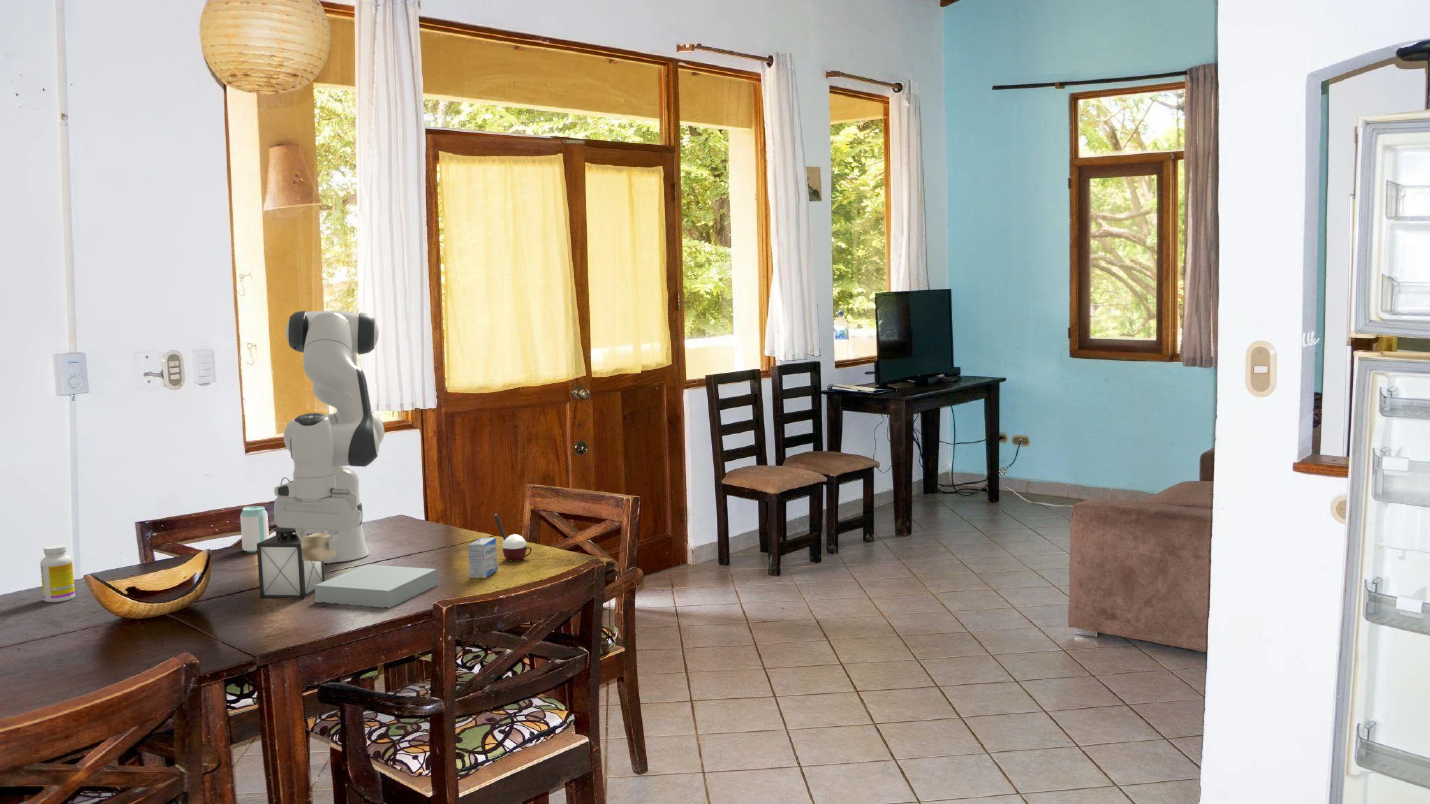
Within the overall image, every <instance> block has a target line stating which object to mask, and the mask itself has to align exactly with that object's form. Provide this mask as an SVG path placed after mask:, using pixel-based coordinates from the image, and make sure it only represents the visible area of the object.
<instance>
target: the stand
mask: <svg viewBox="0 0 1430 804" xmlns="http://www.w3.org/2000/svg"><path fill="white" fill-rule="evenodd" d="M437 574H438V571H437V568H426V567H423V568H422V567H411V566H410V567H409V566H396V565H395V566H393V565H391V566H390V565H381V564H380V565H378V564H364V565H362V566H359V567H357V568H354V569H351V570H349V571H347V572H344V573H342V574H339V575H337V576H335V577H332V578H330V579H328V580H325V581H324V582H322V583H319V584H317V585H315V593H314V594H315V603H321V602H329V603H328V604H334V603H338V604H337V605H346V604H354V605H353V606H359V605H362V606H361V607H371V606H372V607H374V608H384V607H388V609H390V608H392V607H393V608H394V607H395V606H397V605H399V604H401V603H403V602H405V601H407V600H409V599H412V598H414V597H415V596H418V595H420V594H422V593H425V592H427V591H428V590H431V589H432V588H435V587H436V586H438V575H437ZM434 586H435V587H434ZM430 588H431V589H430ZM396 604H397V605H396ZM372 607H371V608H372Z"/></svg>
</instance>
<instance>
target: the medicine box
mask: <svg viewBox="0 0 1430 804" xmlns="http://www.w3.org/2000/svg"><path fill="white" fill-rule="evenodd" d="M497 546H498V545H497V538H496V537H480V538H478V539H477V540H475V541H474V542H471V543H469V544H468V545H467V547H468V548H467V550H468V551H467V553H468V568H469V578H470V577H471V578H470V579H478V578H477V577H487V578H489V577H490V576H491V575H490V574H492V573H493V572H495V573H496V572H497V571H498V569H499V568H498V567H499V566H498V551H497ZM496 570H497V571H496ZM493 574H494V573H493ZM493 574H492V575H493ZM489 575H490V576H489ZM488 576H489V577H488Z"/></svg>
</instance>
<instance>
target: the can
mask: <svg viewBox="0 0 1430 804" xmlns="http://www.w3.org/2000/svg"><path fill="white" fill-rule="evenodd" d="M239 517H240V530H241V532H240V534H241V547H242V550H243V552H244V551H245V552H246V551H247V552H246V553H257V552H256V551H257V543H260V542H262V541H264V540H266V539H269V538H270V534H269V533H270V531H269V519H268V517H269V516H268V511H267V510H266V509H265V506H263V505H262V506H261V505H260V506H259V505H255V506H253V505H252V506H247V507H243V508H242V511H241V513H240V515H239Z"/></svg>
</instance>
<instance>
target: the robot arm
mask: <svg viewBox="0 0 1430 804" xmlns="http://www.w3.org/2000/svg"><path fill="white" fill-rule="evenodd" d="M379 334H380V333H379V326H378V324H377V322H376V318H374V316H373V315H372V314H368V313H364V312H359V313H357V312H352V311H345V310H314V311H307V310H300V311H296V312H293V314H291V315H290V317H289V320H288V321H287V323H286V327H285V336H286V340H287V342H288V346H289V347H290V348H291V349H292V350H293V351H295V352H298V353H303V355H302V363H303V365H302V366H303V372H304V374H305V375H306V377H307V378H308V379H309V380H310V381H311V382H312V392H313V395H314V396H315V398H316V399H317V400H318V401H320V402H321V403H323V404H325V405H327V406H330V407H332V408H335V409H336V411H335V413H328V414H327V413H325V414H324V413H320V412H318V413H317V412H310V413H304V414H300V415H298V416H297V417H295V418H294V419H291V420H290V421H288V423H287V424H286V426H285V428H284V431H283V443H284V445H285V447H286V450H288V451H289V453H290V458H291V459H292V460H293V464H294V466H293V467H294V469H293V472H292V473H293V474H292V477H293V480H289V481H290V482H289V481H288V482H287V483H283V484H279V485H277V486H275V487H274V489H273V490H274V491H273V493H274V495H275V496H276V498H275V500H274V503H273V518H274V523H275V524H276V525H275V526H276V527H277V526H278V527H282V528H296V533H295V534H297V536H298V537H299V539H300V541H301V538H303V537H306V536H307V535H306V534H315V533H322V534H329V535H331V537H330V539H329V541H328V542H325V546H326V550H334V549H335V552H336V556H335V557H332V558H330V559H327V560H325V561H324V565H325V563H327V564H331V563H341V562H348V561H354V560H359V559H361V558H365V557H367V556H369V555H370V551H369V549H368V546H367V542H366V538H365V533H364V528H363V517H364V514H363V504H362V502H361V499H360V498H361V497H360V479H359V475H357V473H356V472H355V470H352V469H351V468H348V467H346V466H350V467H363V468H366V467H367V466H369V465H370V464H372V463H373V462H374V461H375V460H376V459H377V457H378V456H379V451H380V445H381V444H382V442H383V440H384V436H385V427H384V424H383V421H382V420H381V418H380V417H379V416H378V415H377V414H376V413H374V412H372V405H371V400H370V394H369V388H368V383H367V379H366V375H365V372H364V370H363V369H362V368H361V367H359V366H358V359H357V358H358V356H357V354H358V355H365V354H369V353H370V352H372V351H373V350H374V349H375V347H376V345H377V343H378V341H379ZM301 547H302V543H301Z"/></svg>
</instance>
